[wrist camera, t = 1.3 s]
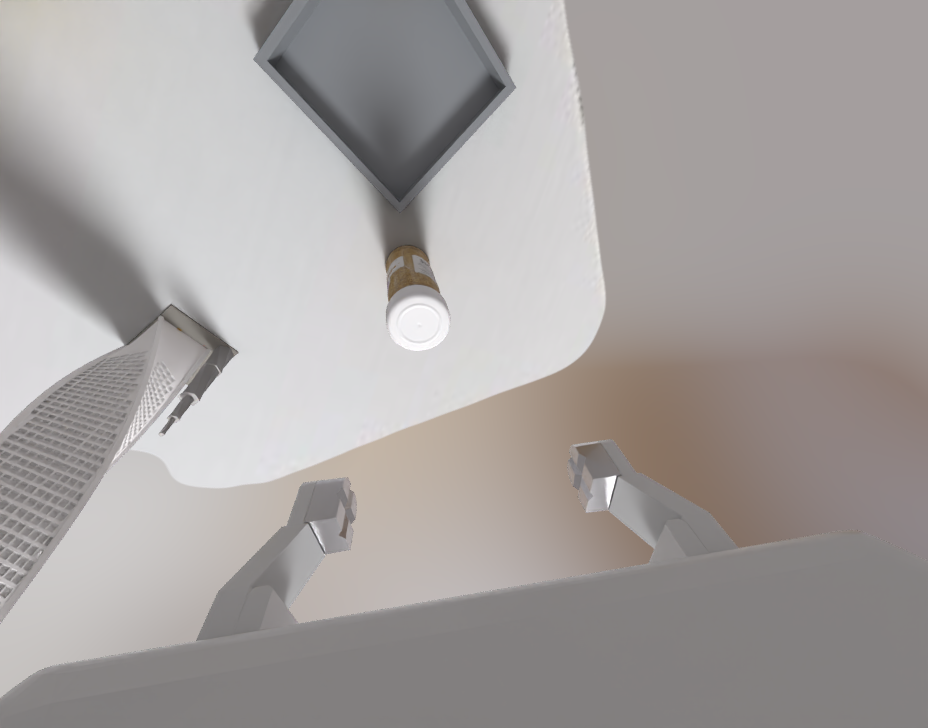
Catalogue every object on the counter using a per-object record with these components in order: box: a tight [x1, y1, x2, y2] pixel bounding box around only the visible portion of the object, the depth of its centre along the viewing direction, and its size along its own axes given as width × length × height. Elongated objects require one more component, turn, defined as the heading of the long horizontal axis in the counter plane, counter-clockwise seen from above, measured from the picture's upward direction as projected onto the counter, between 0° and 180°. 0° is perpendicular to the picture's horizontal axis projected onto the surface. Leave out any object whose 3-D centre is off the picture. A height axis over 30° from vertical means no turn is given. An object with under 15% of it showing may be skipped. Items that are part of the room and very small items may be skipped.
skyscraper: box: [0, 305, 238, 623], centre depth 23 cm, size 8×8×28 cm
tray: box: [253, 0, 516, 213], centre depth 26 cm, size 13×13×2 cm
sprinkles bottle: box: [386, 245, 451, 351], centre depth 29 cm, size 5×4×14 cm
